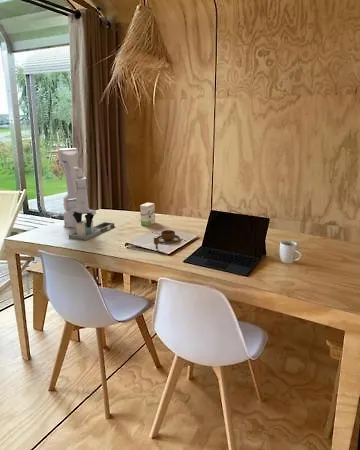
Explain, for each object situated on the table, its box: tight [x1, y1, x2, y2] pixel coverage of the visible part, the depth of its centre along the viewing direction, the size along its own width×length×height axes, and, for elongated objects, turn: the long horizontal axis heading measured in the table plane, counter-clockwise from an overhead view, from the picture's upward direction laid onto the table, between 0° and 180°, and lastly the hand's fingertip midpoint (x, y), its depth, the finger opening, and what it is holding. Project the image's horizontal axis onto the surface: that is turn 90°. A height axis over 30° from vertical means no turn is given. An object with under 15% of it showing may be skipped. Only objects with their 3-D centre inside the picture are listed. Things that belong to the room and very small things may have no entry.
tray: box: [68, 229, 102, 241], centre depth 194 cm, size 11×14×2 cm
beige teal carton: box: [75, 219, 94, 236], centre depth 194 cm, size 4×9×7 cm, turn 157°
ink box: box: [139, 202, 156, 227], centre depth 212 cm, size 9×5×12 cm, turn 153°
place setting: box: [153, 229, 181, 250], centre depth 181 cm, size 18×20×6 cm
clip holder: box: [93, 221, 115, 233], centre depth 206 cm, size 7×12×2 cm, turn 157°
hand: (84, 226), depth 193 cm, fingers open, 5 cm apart
